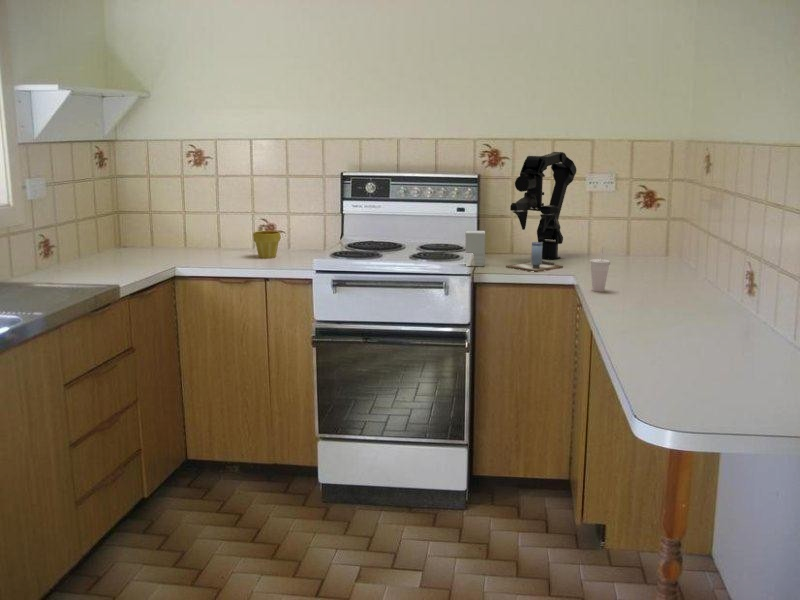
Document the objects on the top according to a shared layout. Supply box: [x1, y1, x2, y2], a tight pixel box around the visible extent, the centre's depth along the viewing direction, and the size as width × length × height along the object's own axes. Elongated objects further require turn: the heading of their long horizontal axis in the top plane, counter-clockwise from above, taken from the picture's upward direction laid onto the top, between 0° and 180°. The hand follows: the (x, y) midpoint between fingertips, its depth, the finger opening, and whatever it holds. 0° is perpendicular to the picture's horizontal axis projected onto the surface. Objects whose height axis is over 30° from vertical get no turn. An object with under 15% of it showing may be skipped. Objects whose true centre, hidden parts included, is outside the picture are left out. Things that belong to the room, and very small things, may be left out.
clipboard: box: [505, 260, 564, 273], centre depth 308 cm, size 16×14×1 cm
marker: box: [530, 241, 543, 269], centre depth 302 cm, size 4×4×9 cm
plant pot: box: [252, 230, 281, 259], centre depth 325 cm, size 10×10×10 cm
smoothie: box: [589, 246, 611, 293], centre depth 265 cm, size 6×6×14 cm
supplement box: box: [464, 230, 486, 267], centre depth 312 cm, size 7×7×13 cm
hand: (533, 230), depth 316 cm, fingers open, 9 cm apart
